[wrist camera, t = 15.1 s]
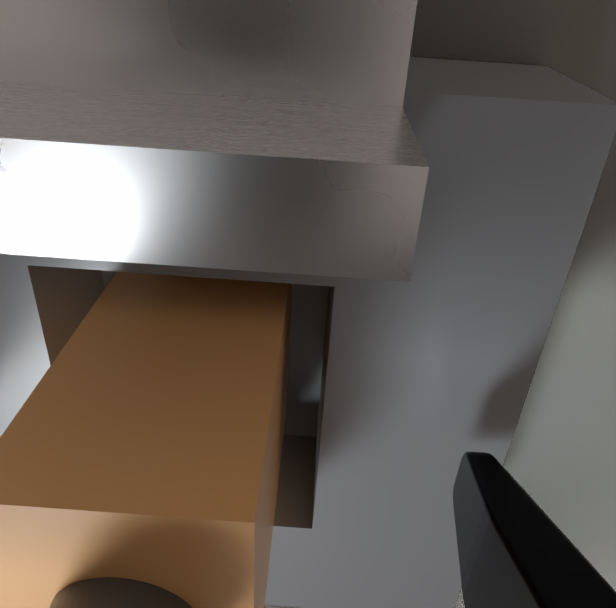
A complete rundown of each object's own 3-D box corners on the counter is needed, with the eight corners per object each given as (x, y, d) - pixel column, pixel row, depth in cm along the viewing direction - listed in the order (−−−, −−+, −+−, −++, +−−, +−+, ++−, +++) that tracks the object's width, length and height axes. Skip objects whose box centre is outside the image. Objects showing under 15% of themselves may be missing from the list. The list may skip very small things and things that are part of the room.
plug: (286, 411, 13) (237, 861, 6) (155, 402, 13) (-25, 840, 6) (293, 253, 11) (229, 689, 4) (136, 243, 11) (-157, 660, 4)
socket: (431, 506, 15) (450, 618, 12) (22, 476, 15) (-42, 582, 13) (545, 65, 9) (624, 105, 7) (-117, 21, 9) (-288, 44, 7)
